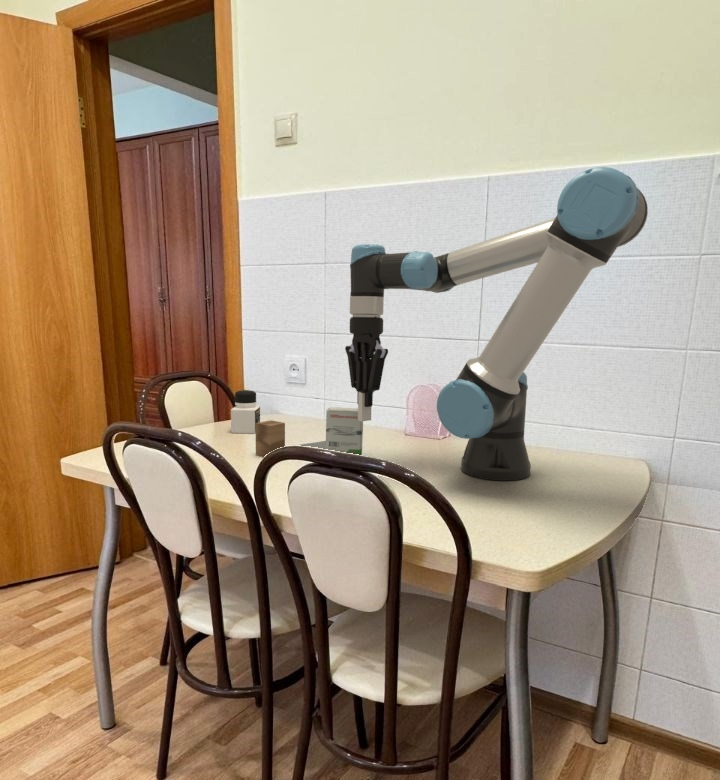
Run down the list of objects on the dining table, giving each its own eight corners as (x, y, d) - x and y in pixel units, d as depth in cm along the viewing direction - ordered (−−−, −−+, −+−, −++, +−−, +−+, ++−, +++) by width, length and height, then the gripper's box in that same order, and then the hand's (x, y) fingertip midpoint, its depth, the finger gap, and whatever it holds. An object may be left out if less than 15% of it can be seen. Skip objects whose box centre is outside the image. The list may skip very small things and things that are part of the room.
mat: (360, 450, 143) (361, 448, 143) (300, 460, 133) (300, 458, 133) (333, 441, 153) (333, 439, 153) (275, 449, 142) (275, 448, 142)
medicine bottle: (255, 433, 161) (255, 392, 159) (230, 433, 161) (230, 392, 159) (260, 429, 168) (260, 389, 166) (236, 428, 168) (236, 388, 167)
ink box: (362, 455, 138) (364, 407, 136) (360, 460, 133) (362, 411, 131) (327, 452, 139) (329, 405, 137) (324, 458, 134) (326, 409, 132)
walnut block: (284, 454, 138) (284, 422, 137) (269, 458, 134) (269, 425, 133) (270, 451, 141) (270, 420, 140) (255, 455, 137) (255, 423, 136)
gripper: (398, 316, 122) (395, 423, 125) (362, 316, 132) (360, 414, 136) (371, 316, 118) (369, 426, 121) (336, 315, 128) (334, 417, 131)
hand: (364, 420), depth 128 cm, fingers closed
